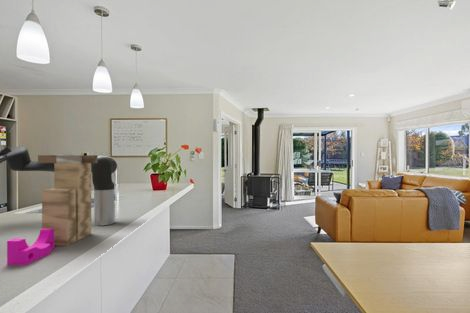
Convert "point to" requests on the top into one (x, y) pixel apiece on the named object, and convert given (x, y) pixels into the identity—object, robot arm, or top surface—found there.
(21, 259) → the toy block
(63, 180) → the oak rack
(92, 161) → the walnut bar
